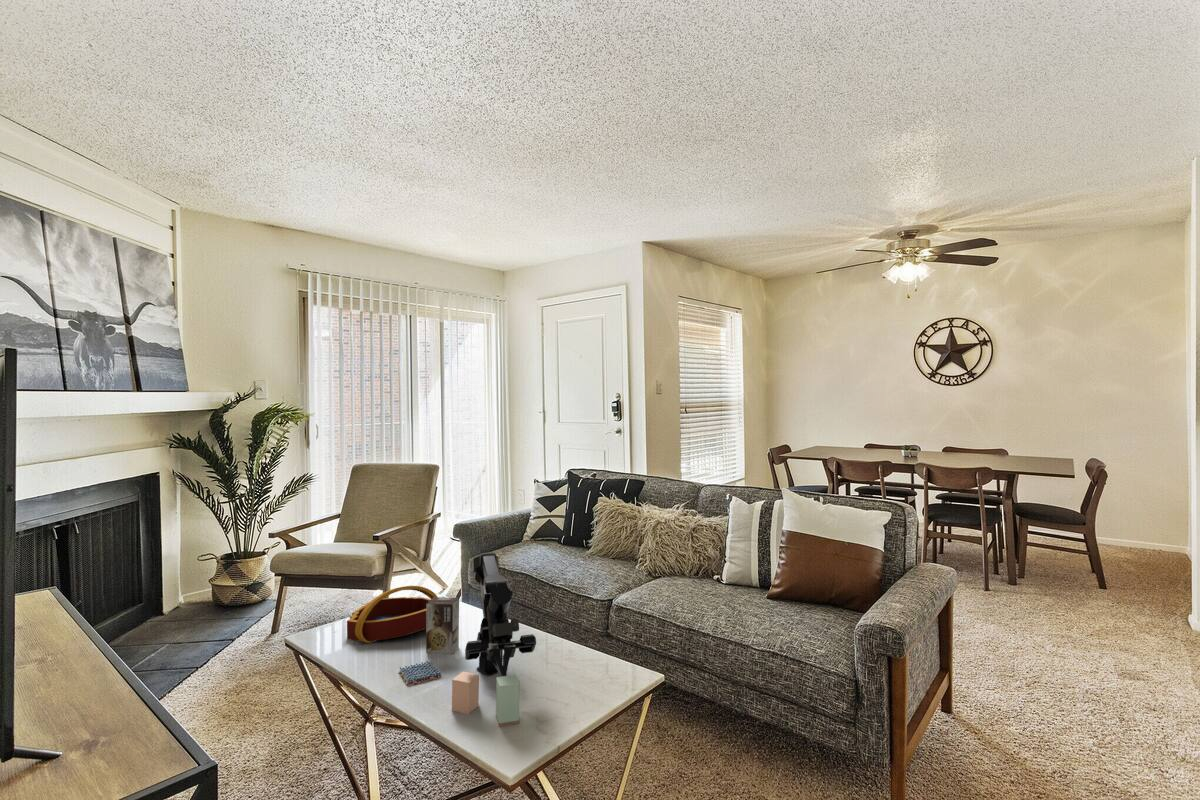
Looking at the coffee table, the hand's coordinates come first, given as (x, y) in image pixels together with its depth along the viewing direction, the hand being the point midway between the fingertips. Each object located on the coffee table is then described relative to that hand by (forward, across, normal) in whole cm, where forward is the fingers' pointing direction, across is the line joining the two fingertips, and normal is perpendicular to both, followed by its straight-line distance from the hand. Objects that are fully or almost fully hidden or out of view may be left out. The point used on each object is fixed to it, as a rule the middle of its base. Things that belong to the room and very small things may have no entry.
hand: (503, 678), depth 152 cm
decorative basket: (-41, -27, +52) cm, 71 cm away
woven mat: (-13, -20, +24) cm, 34 cm away
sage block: (+10, 0, +1) cm, 10 cm away
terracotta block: (+3, -10, +8) cm, 13 cm away
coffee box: (-25, -13, +36) cm, 45 cm away
